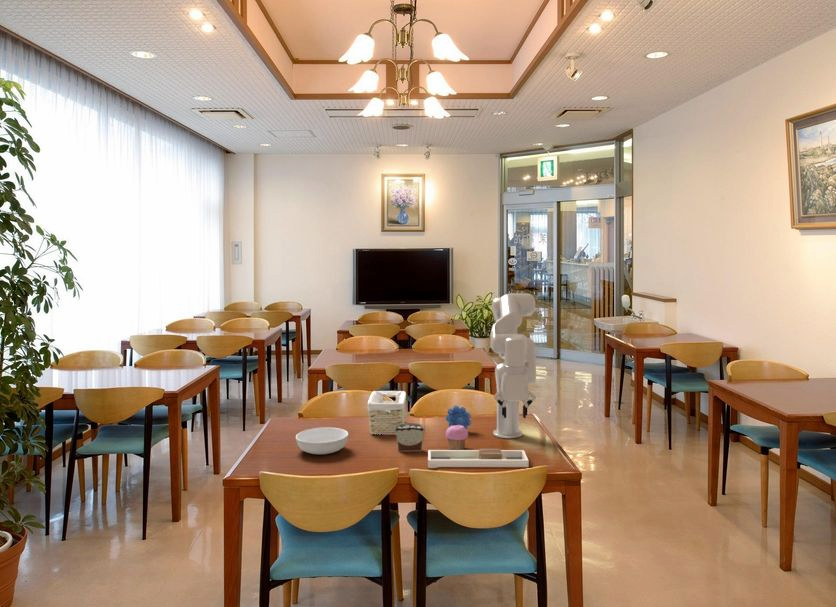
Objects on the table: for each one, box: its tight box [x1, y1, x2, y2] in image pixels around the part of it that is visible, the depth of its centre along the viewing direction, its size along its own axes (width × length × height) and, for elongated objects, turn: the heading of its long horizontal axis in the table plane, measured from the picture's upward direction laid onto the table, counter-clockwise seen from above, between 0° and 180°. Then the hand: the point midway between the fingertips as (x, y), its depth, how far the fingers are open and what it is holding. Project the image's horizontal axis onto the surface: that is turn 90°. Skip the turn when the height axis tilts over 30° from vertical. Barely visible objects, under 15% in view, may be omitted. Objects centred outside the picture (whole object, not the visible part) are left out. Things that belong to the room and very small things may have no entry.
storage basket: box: [367, 390, 407, 436], centre depth 290 cm, size 24×16×15 cm
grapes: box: [445, 405, 472, 431], centre depth 282 cm, size 12×7×12 cm, turn 102°
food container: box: [394, 422, 426, 452], centre depth 260 cm, size 12×6×10 cm, turn 92°
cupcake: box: [445, 425, 469, 450], centre depth 258 cm, size 9×9×10 cm
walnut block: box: [478, 448, 502, 459], centre depth 242 cm, size 6×8×4 cm
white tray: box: [427, 449, 530, 469], centre depth 243 cm, size 12×37×3 cm, turn 89°
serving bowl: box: [295, 426, 349, 456], centre depth 258 cm, size 21×21×7 cm
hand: (514, 416), depth 241 cm, fingers open, 6 cm apart
